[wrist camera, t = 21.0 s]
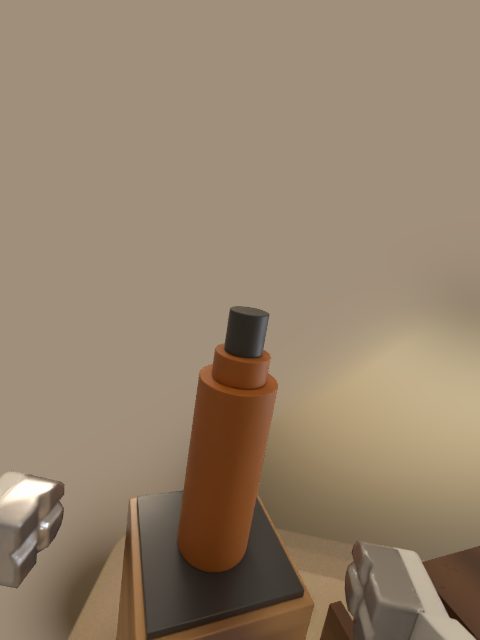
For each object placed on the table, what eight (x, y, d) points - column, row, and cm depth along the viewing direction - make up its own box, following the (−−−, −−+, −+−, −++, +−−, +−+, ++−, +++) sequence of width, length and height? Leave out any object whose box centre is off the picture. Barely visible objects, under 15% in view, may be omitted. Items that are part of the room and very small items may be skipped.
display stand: (113, 860, 19) (136, 649, 15) (114, 655, 28) (129, 491, 24) (268, 782, 23) (317, 596, 19) (225, 623, 32) (252, 476, 28)
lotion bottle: (184, 580, 19) (222, 318, 15) (172, 516, 23) (200, 298, 19) (257, 564, 20) (306, 324, 17) (234, 506, 25) (269, 304, 21)
